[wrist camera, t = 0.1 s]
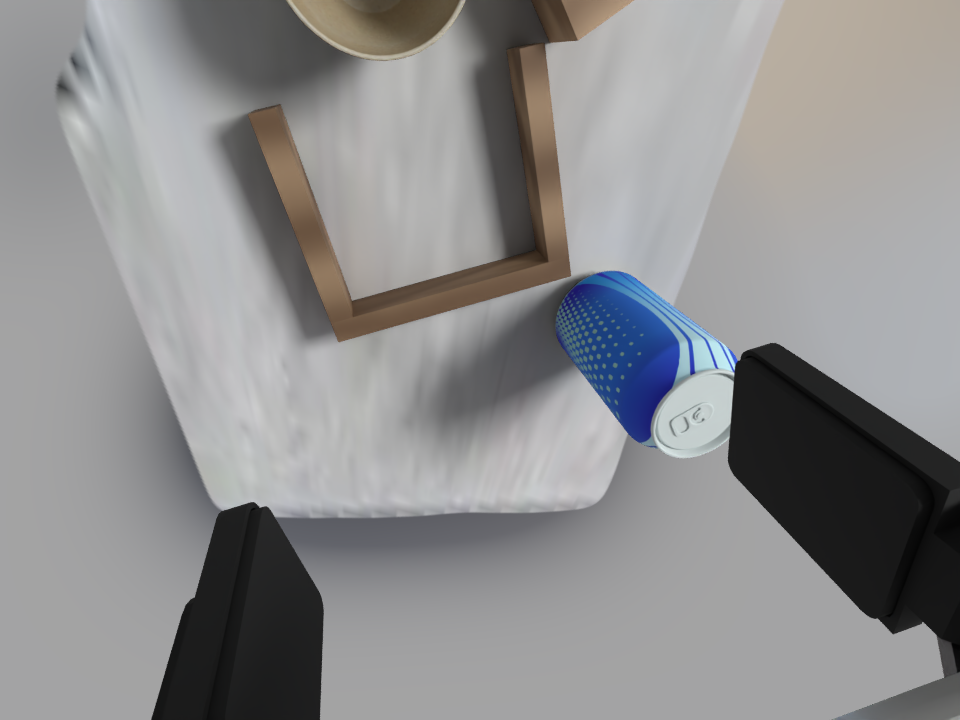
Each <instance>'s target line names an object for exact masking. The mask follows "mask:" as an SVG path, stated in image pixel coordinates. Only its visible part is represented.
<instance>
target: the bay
mask: <svg viewBox="0 0 960 720" xmlns="http://www.w3.org/2000/svg"><path fill="white" fill-rule="evenodd" d="M507 56H508V63H509V69H510V76H511V83H512V90H513V96H514V103H515V110H516V117H517V124H518V130H519V137H520V144H521V151H522V157H523V164H524V171H525V178H526V184H527V191H528V198H529V205H530V211H531V218H532V225H533V232H534V238H535V245H536V250H534V251H531V252H527V253H523V254H520V255H516V256H513V257H509V258H505V259H502V260H498V261H495V262H491V263H488V264H484V265H480V266H477V267H473V268H470V269H466V270H462V271H459V272H455V273H452V274H448V275H444V276H441V277H437V278H434V279H430V280H426V281H423V282H419V283H416V284H412V285H408V286H405V287H401V288H398V289H394V290H390V291H387V292H383V293H380V294H376V295H372V296H369V297H365V298H362V299H358V300H354V301H352V299H351V297H350V294H349V291H348V288H347V286H346V283H345V280H344V277H343V275H342V272H341V269H340V266H339V264H338V261H337V258H336V255H335V253H334V250H333V247H332V244H331V242H330V239H329V236H328V234H327V231H326V228H325V225H324V223H323V220H322V217H321V214H320V212H319V209H318V206H317V203H316V201H315V198H314V195H313V192H312V190H311V187H310V184H309V181H308V179H307V176H306V173H305V171H304V168H303V165H302V162H301V160H300V157H299V154H298V151H297V149H296V146H295V143H294V140H293V138H292V135H291V132H290V129H289V127H288V124H287V121H286V118H285V116H284V113H283V110H282V108H281V105H280V104H279V105H275V106H271V107H266V108H262V109H258V110H255V111H253V112H251V113H249V114H248V117H249V119H250V122H251V124H252V127H253V129H254V132H255V134H256V137H257V139H258V142H259V144H260V147H261V149H262V152H263V154H264V157H265V159H266V162H267V164H268V167H269V169H270V172H271V174H272V177H273V179H274V182H275V184H276V187H277V189H278V192H279V194H280V197H281V199H282V202H283V204H284V207H285V209H286V212H287V214H288V217H289V219H290V222H291V224H292V227H293V229H294V232H295V234H296V237H297V239H298V242H299V244H300V247H301V249H302V252H303V254H304V257H305V259H306V262H307V264H308V267H309V269H310V272H311V274H312V277H313V279H314V282H315V284H316V287H317V289H318V292H319V294H320V297H321V299H322V302H323V304H324V307H325V309H326V312H327V314H328V317H329V319H330V322H331V324H332V327H333V329H334V332H335V335H336V337H337V340H338V342H341V341H345V340H348V339H352V338H355V337H359V336H362V335H366V334H369V333H373V332H376V331H380V330H383V329H387V328H390V327H394V326H397V325H401V324H404V323H408V322H411V321H415V320H418V319H422V318H425V317H429V316H433V315H436V314H440V313H443V312H447V311H450V310H454V309H457V308H461V307H464V306H468V305H471V304H475V303H478V302H482V301H485V300H489V299H492V298H496V297H499V296H503V295H506V294H510V293H513V292H517V291H520V290H524V289H527V288H531V287H534V286H538V285H541V284H545V283H548V282H552V281H556V280H559V279H563V278H566V277H570V276H571V271H570V262H569V254H568V245H567V236H566V227H565V218H564V210H563V201H562V192H561V183H560V175H559V166H558V157H557V148H556V139H555V131H554V122H553V113H552V104H551V95H550V87H549V78H548V69H547V60H546V51H545V43H536V44H528V45H524V46H519V47H515V48H511V49H507Z"/></svg>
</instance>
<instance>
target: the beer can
mask: <svg viewBox="0 0 960 720" xmlns="http://www.w3.org/2000/svg"><path fill="white" fill-rule="evenodd" d="M556 334H557V338H558V340H559V343H560V345H561V346H562V348H563V349H564V350H565V351H566V353H567V354H568V355H569V357H570V358H571V359H572V361H573V362H574V363H575V365H576V366H577V367H578V369H579V370H580V371H581V372H582V374H583V375H584V376H585V378H586V379H587V380H588V382H589V383H590V384H591V386H592V387H593V388H594V389H595V391H596V392H597V393H598V395H599V396H600V397H601V399H602V400H603V401H604V403H605V404H606V405H607V406H608V408H609V409H610V410H611V412H612V413H613V414H614V416H615V417H616V418H617V420H618V421H619V422H620V424H621V425H622V426H623V427H624V429H625V430H626V431H627V433H628V434H629V435H630V436H631V437H632V438H633V439H634V440H636V441H637V442H639V443H641V444H643V445H645V446H648V447H652V448H656V449H659V450H660V451H661V452H663V453H664V454H666V455H668V456H671V457H674V458H691V457H696V456H700V455H703V454H705V453H708V452H710V451H712V450H714V449H715V448H717V447H719V446H720V445H722V444H723V443H724V442H725V441H727V440H728V439H729V438H730V424H731V411H732V398H733V384H734V371H735V364H736V363H737V359H736V357H735V355H734V354H733V352H732V351H731V350H730V349H729V348H728V347H727V346H725V345H724V344H723V343H721V342H720V341H719V340H717V339H716V338H715V337H713V336H712V335H711V334H709V333H708V332H707V331H705V330H704V329H703V328H701V327H700V326H698V325H697V324H696V323H695V322H693V321H692V320H691V319H689V318H688V317H687V316H685V315H684V314H682V313H681V312H680V311H678V310H677V309H676V308H674V307H673V306H672V305H670V304H669V303H668V302H666V301H665V300H664V299H662V298H661V297H660V296H658V295H657V294H656V293H654V292H653V291H652V290H650V289H649V288H648V287H646V286H645V285H644V284H642V283H641V282H640V281H638V280H637V279H636V278H634V277H633V276H631V275H629V274H627V273H624V272H619V271H604V272H599V273H596V274H593V275H591V276H589V277H587V278H585V279H583V280H582V281H580V282H579V283H578V284H576V285H575V286H574V287H573V288H572V289H571V290H570V291H569V292H568V294H567V295H566V296H565V298H564V299H563V301H562V303H561V305H560V307H559V310H558V313H557V317H556Z"/></svg>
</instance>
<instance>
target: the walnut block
mask: <svg viewBox="0 0 960 720" xmlns="http://www.w3.org/2000/svg"><path fill="white" fill-rule="evenodd" d="M531 1H532V3H533V5H534V8H535V10H536V12H537V14H538V17H539V19H540V21H541V24H542V26H543V28H544V30H545V33H546V35H547V37H548V39H549V42H550V43H553V42H565V41H577V40H579V39H581V38H582V37H583V36H585V35H586V34H588V33H589V32H590V31H592V30H593V29H595V28H596V27H597V26H599V25H600V24H602V23H603V22H604V21H606V20H607V19H609V18H610V17H611V16H613V15H614V14H616V13H617V12H618V11H620V10H621V9H623V8H624V7H625V6H627V5H628V4H630V3H631V2H632V1H634V0H531Z"/></svg>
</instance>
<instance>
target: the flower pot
mask: <svg viewBox="0 0 960 720" xmlns="http://www.w3.org/2000/svg"><path fill="white" fill-rule="evenodd" d="M286 1H287V3H288V4H289V6H290V7H291V8H292V10H293V11H294V12H295V14H296V15H297V16H298V17H299V19H300V20H301V21H302V22H303V23H304V24H305V25H306V26H307V27H308V28H309V29H310V30H311V31H312V32H314V33H315V34H316V35H317V36H318V37H320V38H321V39H322V40H324V41H325V42H327V43H328V44H330V45H331V46H333V47H335V48H336V49H338V50H340V51H342V52H345V53H347V54H350V55H352V56H356V57H359V58H363V59H368V60H377V61H388V60H396V59H401V58H405V57H409V56H412V55H414V54H417V53H419V52H421V51H423V50H424V49H426V48H427V47H429V46H430V45H432V44H433V43H435V42H436V41H437V40H438V39H439V38H440V37H441V36H442V35H443V34H444V33H445V32H446V31H447V30H448V29H449V28H450V26H451V25H452V24H453V23H454V21H455V20H456V18H457V16H458V15H459V13H460V11H461V9H462V7H463V5H464V3H465V1H466V0H286Z"/></svg>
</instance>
